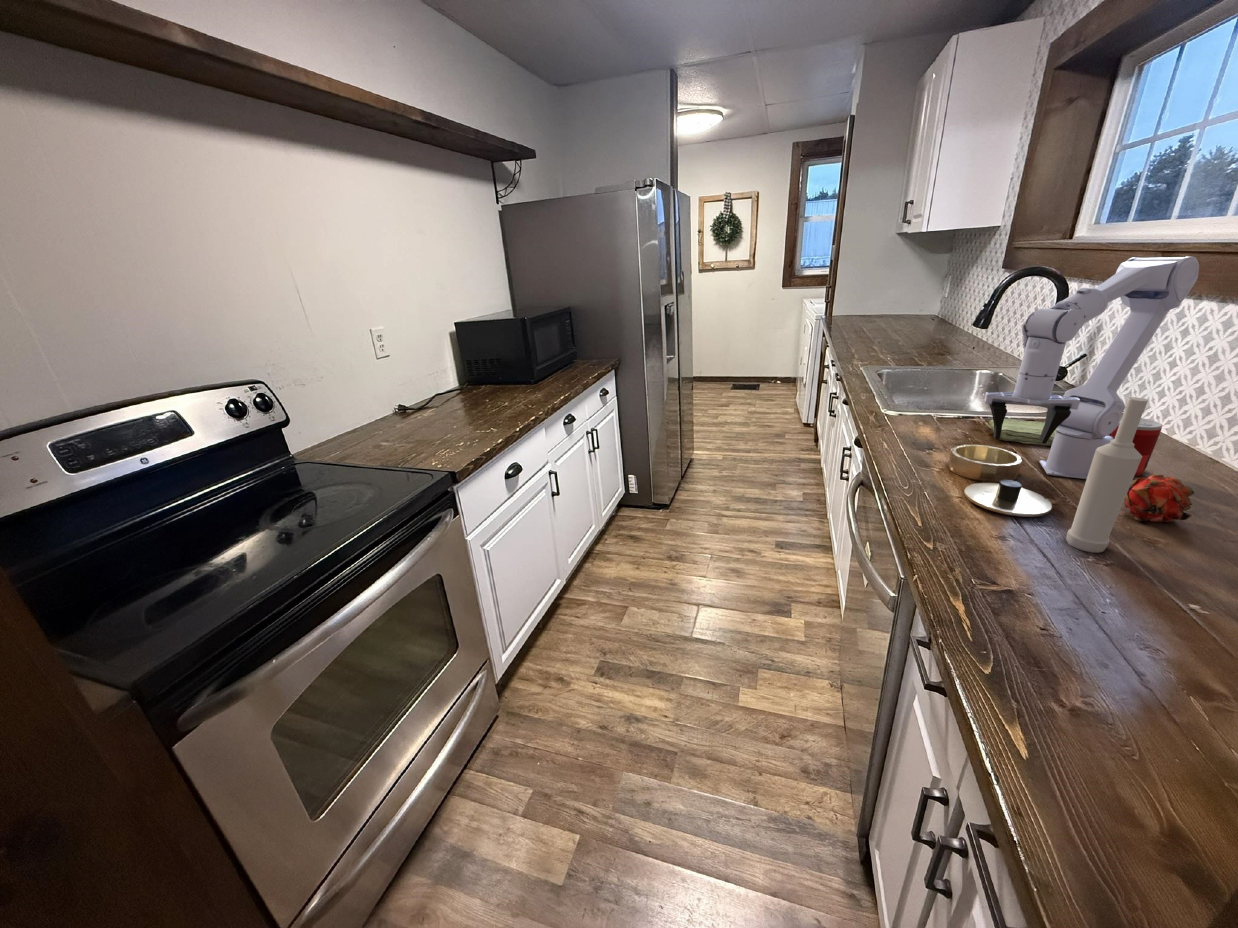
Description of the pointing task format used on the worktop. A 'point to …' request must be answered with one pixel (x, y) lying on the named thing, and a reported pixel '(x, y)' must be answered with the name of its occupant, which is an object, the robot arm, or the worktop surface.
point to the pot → (984, 463)
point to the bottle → (1107, 484)
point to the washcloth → (1023, 431)
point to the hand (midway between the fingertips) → (1019, 439)
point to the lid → (1008, 499)
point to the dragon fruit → (1158, 499)
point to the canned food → (1144, 440)
